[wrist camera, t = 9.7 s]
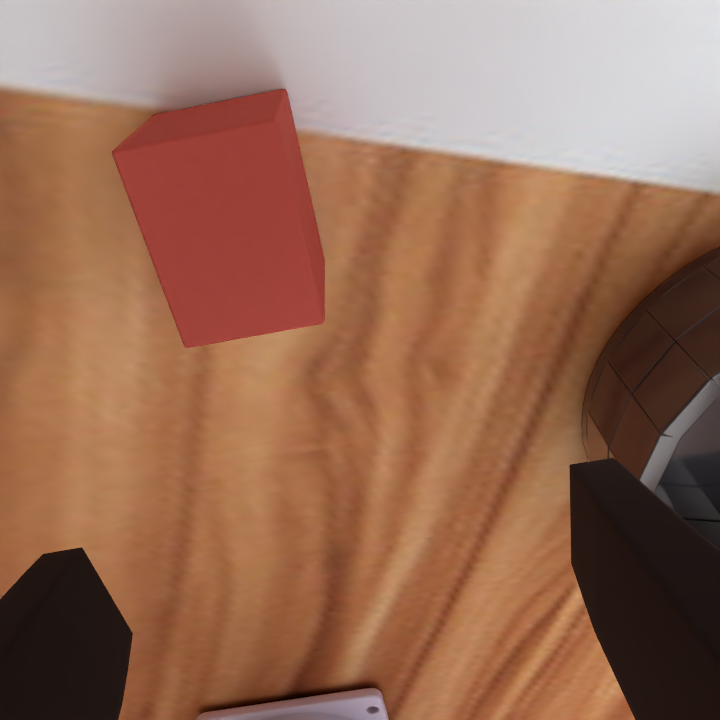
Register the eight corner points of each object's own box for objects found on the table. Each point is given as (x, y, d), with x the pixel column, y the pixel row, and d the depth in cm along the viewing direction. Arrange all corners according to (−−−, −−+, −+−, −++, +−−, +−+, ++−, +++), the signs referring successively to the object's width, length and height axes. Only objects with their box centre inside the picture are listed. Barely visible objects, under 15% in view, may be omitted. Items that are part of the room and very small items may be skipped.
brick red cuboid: (325, 262, 17) (325, 324, 14) (208, 284, 17) (184, 350, 14) (286, 87, 15) (276, 117, 12) (152, 114, 15) (109, 151, 12)
